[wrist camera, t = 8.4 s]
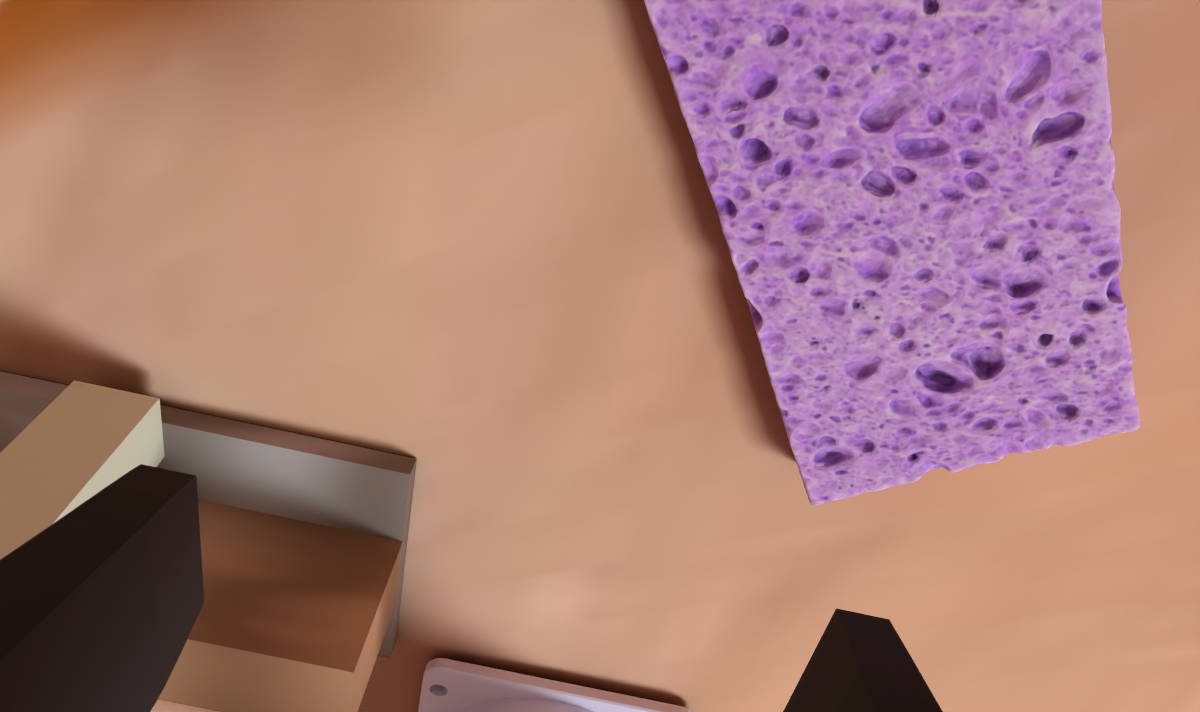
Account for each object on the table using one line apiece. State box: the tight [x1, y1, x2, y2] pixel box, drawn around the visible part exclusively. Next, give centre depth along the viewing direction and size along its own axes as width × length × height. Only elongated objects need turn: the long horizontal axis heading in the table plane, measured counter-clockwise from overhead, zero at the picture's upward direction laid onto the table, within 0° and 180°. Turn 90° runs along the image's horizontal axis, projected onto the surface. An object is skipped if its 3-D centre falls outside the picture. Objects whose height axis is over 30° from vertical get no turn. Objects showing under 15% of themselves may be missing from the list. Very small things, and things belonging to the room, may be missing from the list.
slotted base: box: [0, 371, 417, 712], centre depth 22 cm, size 14×7×5 cm, turn 79°
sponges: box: [644, 0, 1140, 506], centre depth 17 cm, size 7×13×2 cm, turn 21°
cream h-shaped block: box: [0, 380, 165, 559], centre depth 20 cm, size 8×2×7 cm, turn 169°
